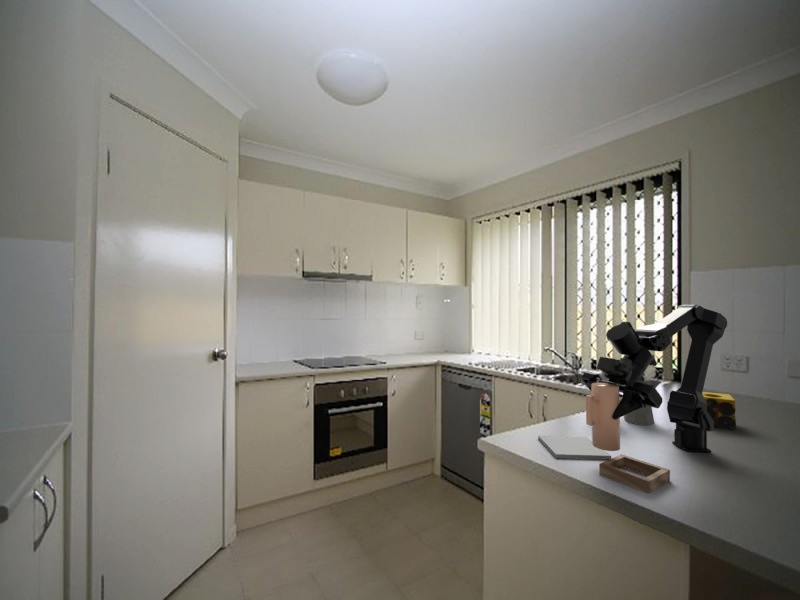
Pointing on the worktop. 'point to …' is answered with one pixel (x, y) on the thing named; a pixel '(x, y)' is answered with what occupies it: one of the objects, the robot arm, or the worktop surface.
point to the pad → (572, 447)
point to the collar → (648, 484)
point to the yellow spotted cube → (721, 410)
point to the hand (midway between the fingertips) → (601, 414)
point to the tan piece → (603, 416)
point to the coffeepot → (643, 414)
